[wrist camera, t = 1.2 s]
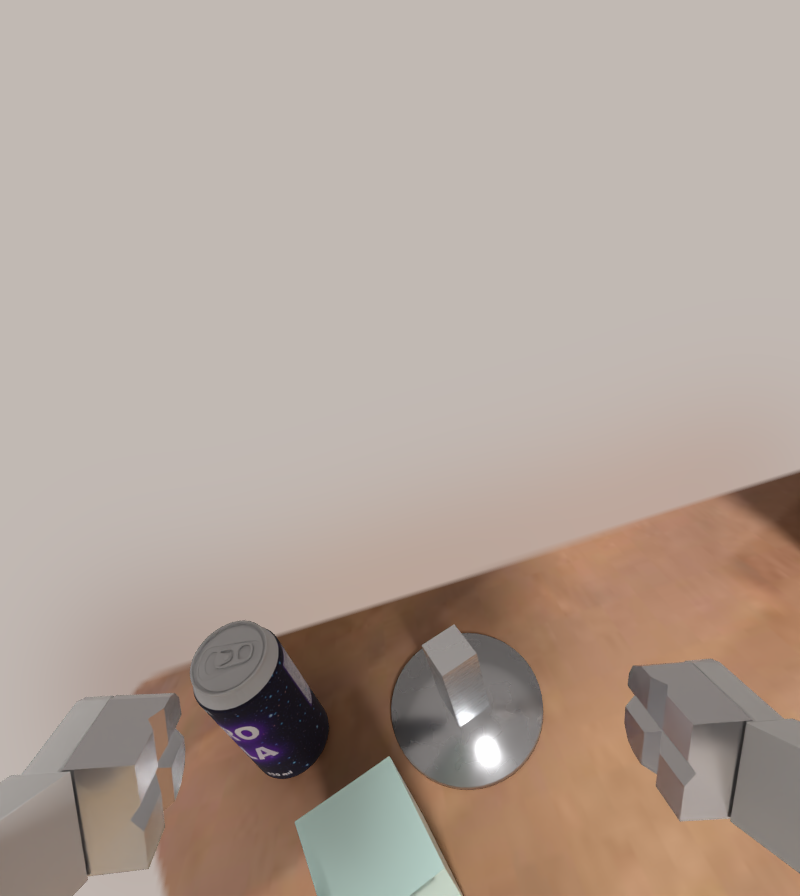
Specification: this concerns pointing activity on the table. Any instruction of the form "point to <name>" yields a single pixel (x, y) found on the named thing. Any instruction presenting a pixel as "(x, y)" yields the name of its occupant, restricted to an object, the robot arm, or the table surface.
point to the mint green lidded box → (374, 841)
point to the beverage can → (259, 698)
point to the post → (467, 710)
